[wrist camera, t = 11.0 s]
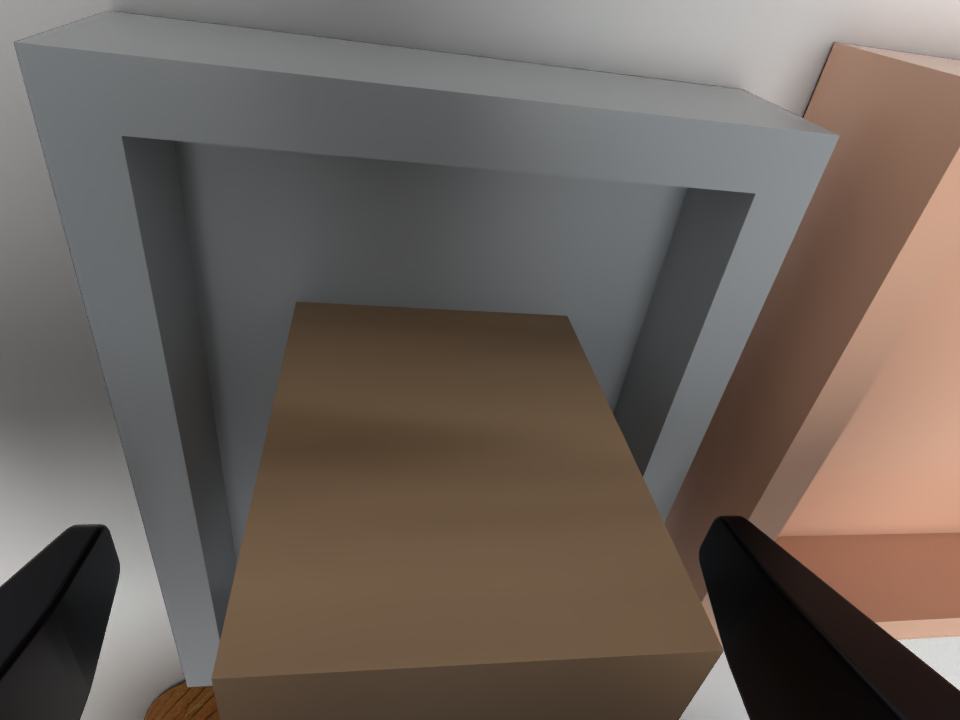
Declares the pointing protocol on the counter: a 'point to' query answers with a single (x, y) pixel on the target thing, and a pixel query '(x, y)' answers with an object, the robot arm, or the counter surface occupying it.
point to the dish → (856, 361)
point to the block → (452, 535)
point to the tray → (389, 238)
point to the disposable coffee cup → (185, 704)
